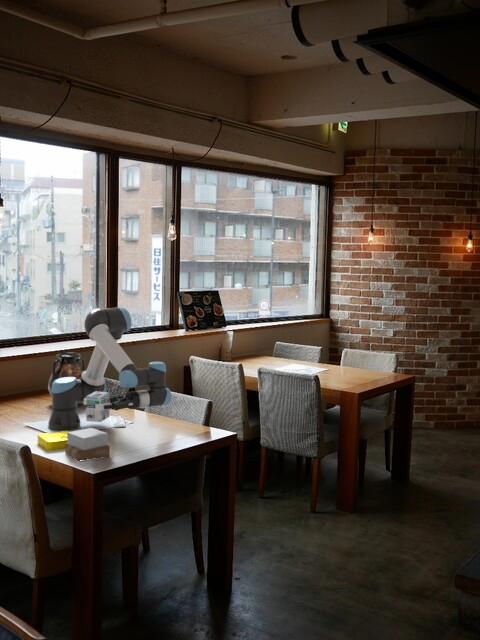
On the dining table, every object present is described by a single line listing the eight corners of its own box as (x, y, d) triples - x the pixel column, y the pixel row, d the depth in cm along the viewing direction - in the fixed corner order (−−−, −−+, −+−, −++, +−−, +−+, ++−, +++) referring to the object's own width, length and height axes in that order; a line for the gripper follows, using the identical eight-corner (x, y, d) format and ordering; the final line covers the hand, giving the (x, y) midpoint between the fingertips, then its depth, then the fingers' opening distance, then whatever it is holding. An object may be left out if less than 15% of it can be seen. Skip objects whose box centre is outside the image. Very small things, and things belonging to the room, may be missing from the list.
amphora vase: (76, 398, 413) (76, 350, 410) (95, 405, 397) (96, 355, 394) (41, 403, 399) (41, 353, 396) (59, 410, 383) (59, 358, 380)
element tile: (68, 439, 330) (68, 429, 329) (80, 447, 317) (80, 436, 317) (36, 443, 322) (36, 433, 321) (47, 452, 309) (47, 441, 309)
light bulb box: (100, 422, 299) (101, 397, 298) (85, 421, 300) (85, 396, 299) (110, 416, 309) (110, 391, 308) (95, 415, 311) (95, 390, 310)
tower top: (67, 444, 304) (67, 432, 304) (91, 439, 313) (91, 427, 312) (83, 450, 296) (83, 438, 295) (107, 444, 304) (107, 433, 304)
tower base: (65, 454, 307) (65, 442, 306) (96, 449, 315) (96, 438, 314) (77, 462, 295) (77, 451, 295) (109, 457, 303) (109, 446, 302)
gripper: (149, 413, 305) (101, 419, 293) (125, 402, 324) (79, 407, 312) (149, 396, 304) (101, 401, 292) (125, 386, 324) (79, 390, 312)
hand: (89, 404), depth 302 cm, fingers closed on light bulb box, 12 cm apart
